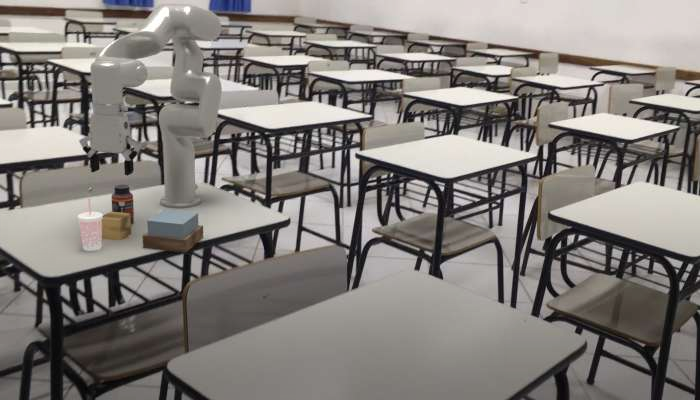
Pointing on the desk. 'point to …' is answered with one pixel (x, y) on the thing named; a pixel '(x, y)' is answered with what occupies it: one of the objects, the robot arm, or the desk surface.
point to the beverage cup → (91, 229)
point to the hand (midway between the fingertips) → (112, 172)
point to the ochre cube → (116, 226)
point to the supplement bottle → (123, 201)
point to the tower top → (172, 223)
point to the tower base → (173, 241)
